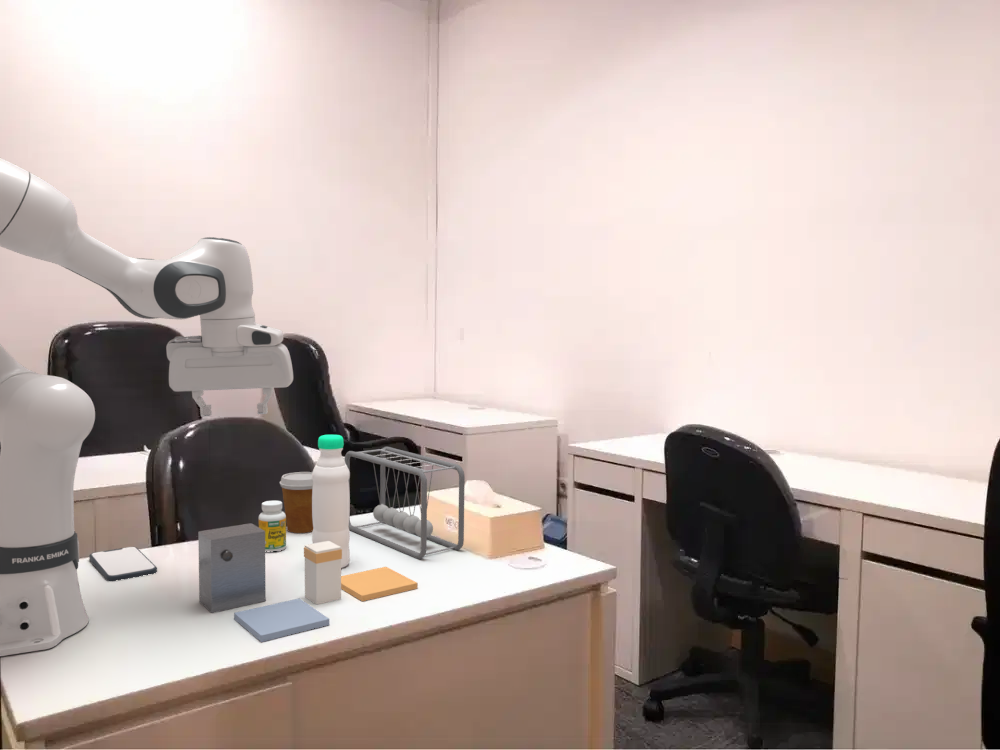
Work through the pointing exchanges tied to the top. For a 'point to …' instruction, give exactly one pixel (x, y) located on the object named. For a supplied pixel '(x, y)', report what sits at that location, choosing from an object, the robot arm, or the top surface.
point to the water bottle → (331, 496)
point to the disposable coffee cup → (298, 501)
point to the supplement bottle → (273, 525)
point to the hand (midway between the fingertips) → (234, 414)
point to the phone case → (122, 563)
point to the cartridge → (322, 572)
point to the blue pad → (280, 619)
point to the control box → (231, 567)
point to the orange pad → (376, 583)
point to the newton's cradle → (401, 518)
